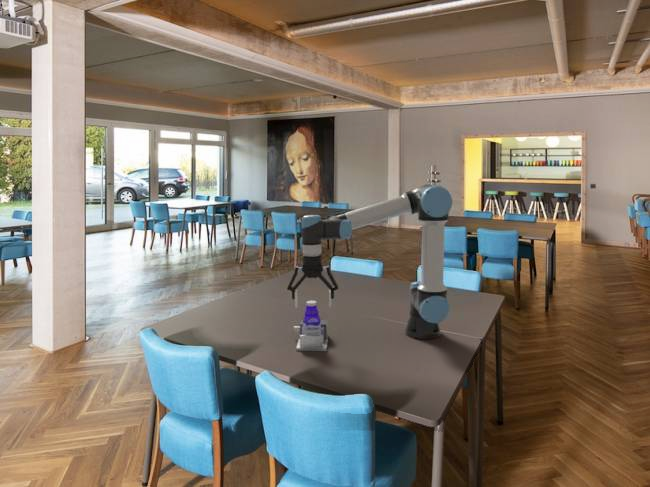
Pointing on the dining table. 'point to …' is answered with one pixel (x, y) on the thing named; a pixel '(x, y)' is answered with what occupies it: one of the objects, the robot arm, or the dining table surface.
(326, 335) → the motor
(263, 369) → the dining table surface
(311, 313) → the bottle
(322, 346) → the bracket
